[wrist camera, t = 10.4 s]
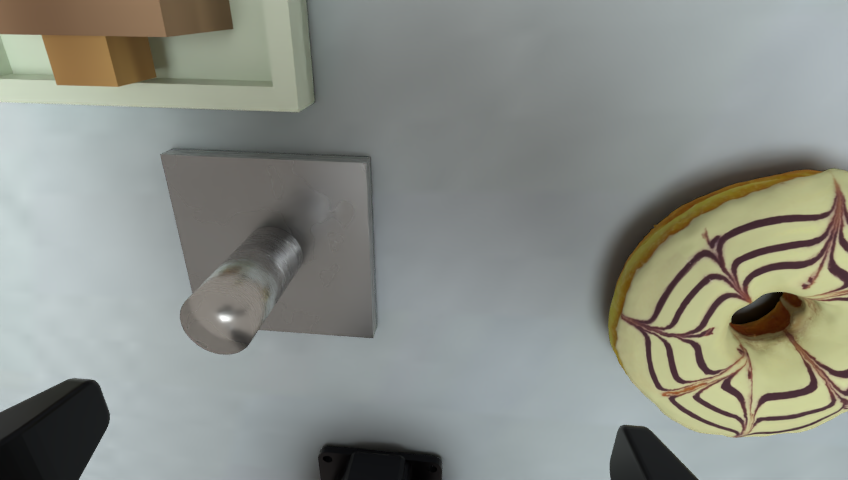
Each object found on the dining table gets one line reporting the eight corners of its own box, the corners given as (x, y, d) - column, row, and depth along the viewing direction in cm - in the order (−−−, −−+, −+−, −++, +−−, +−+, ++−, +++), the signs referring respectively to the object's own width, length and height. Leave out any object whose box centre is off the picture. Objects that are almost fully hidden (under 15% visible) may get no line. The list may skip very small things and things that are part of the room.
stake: (376, 327, 22) (345, 426, 17) (208, 315, 23) (130, 407, 18) (370, 156, 19) (329, 216, 14) (172, 148, 20) (61, 202, 14)
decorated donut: (938, 294, 19) (1035, 357, 16) (688, 419, 23) (724, 491, 20) (807, 96, 17) (893, 121, 13) (550, 276, 21) (565, 331, 17)
